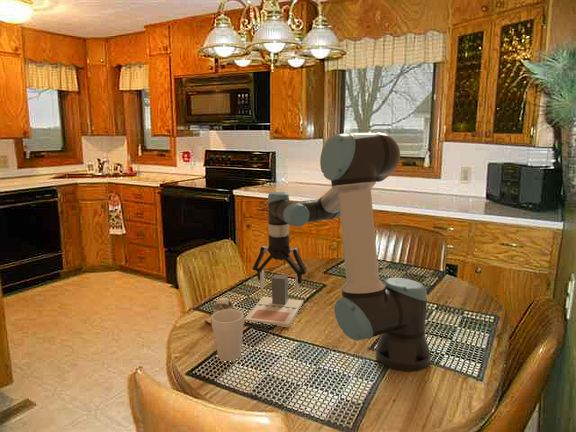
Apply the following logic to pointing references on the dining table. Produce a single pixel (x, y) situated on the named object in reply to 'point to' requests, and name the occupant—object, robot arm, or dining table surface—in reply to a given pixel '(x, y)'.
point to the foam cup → (228, 333)
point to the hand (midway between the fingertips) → (279, 289)
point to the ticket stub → (280, 294)
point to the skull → (223, 304)
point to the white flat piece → (272, 315)
